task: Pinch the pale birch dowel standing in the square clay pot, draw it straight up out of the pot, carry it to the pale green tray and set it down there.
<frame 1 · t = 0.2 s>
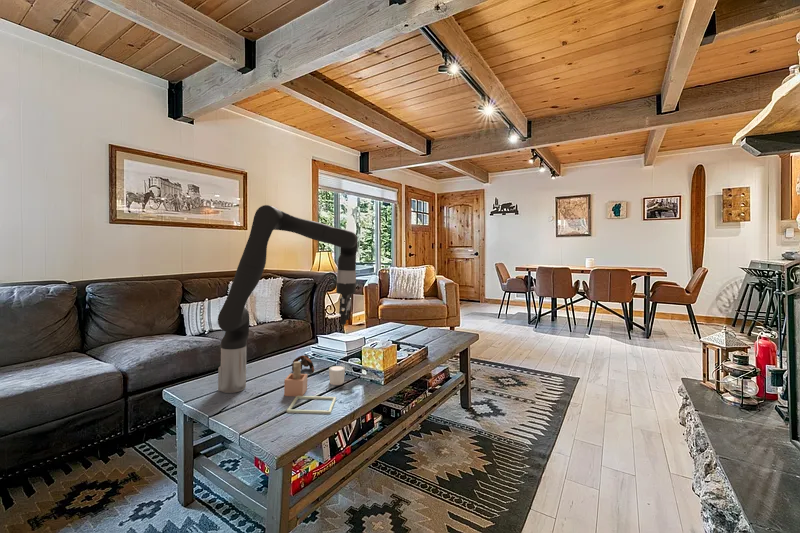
hand: (344, 322, 139), 29 cm above the table, tool pointing down, fingers open, 8 cm apart
beige cylinder: (336, 384, 148), on the table
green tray: (312, 407, 126), on the table
square clay pot: (295, 394, 137), on the table
brown curved piece: (303, 371, 163), on the table
birch pin: (296, 392, 136), point 1 cm above the table, touching square clay pot
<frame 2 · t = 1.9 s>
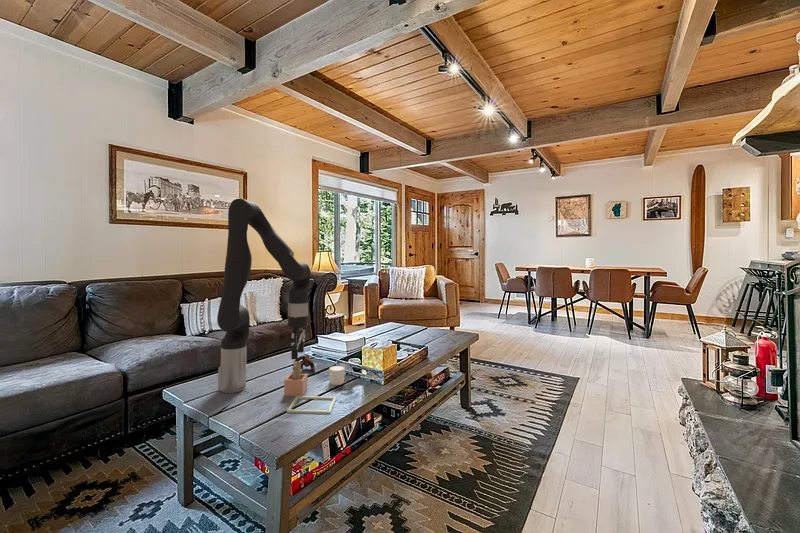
hand: (297, 355, 136), 16 cm above the table, tool pointing down, fingers open, 8 cm apart
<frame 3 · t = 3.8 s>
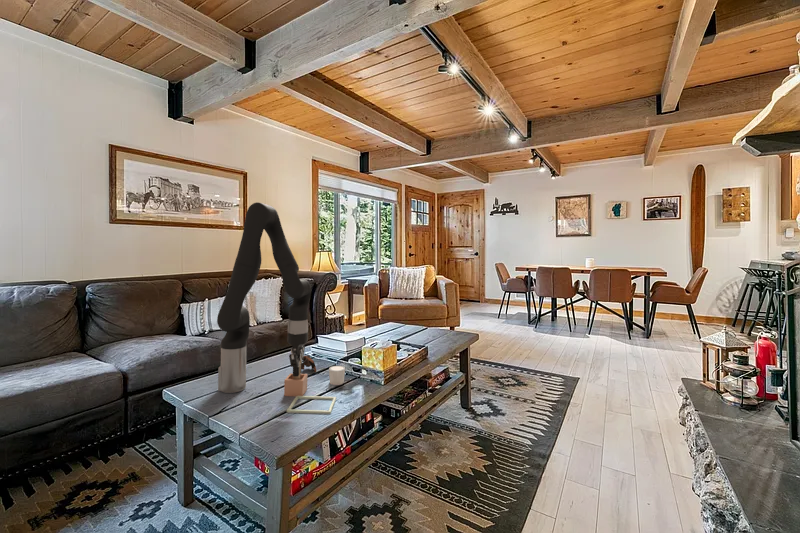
hand: (296, 374, 136), 8 cm above the table, tool pointing down, fingers closed on birch pin, 2 cm apart
birch pin: (296, 388, 136), point 2 cm above the table, touching gripper
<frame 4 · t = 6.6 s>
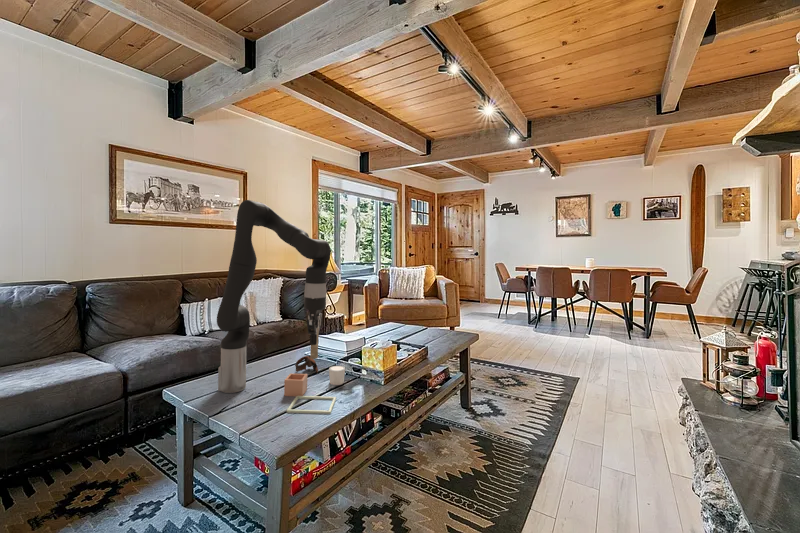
hand: (314, 343, 125), 23 cm above the table, tool pointing down, fingers closed on birch pin, 2 cm apart
birch pin: (314, 357, 125), point 18 cm above the table, touching gripper
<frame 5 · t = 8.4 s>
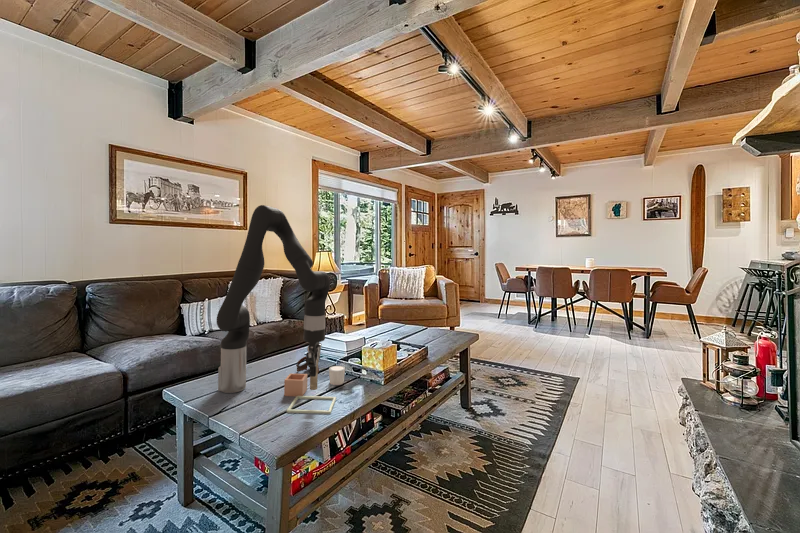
hand: (313, 374, 126), 12 cm above the table, tool pointing down, fingers closed on birch pin, 2 cm apart
birch pin: (313, 388, 126), point 7 cm above the table, touching gripper
when the fingers open (9 cm above the table, at t = 9.8 s): birch pin drops 4 cm, resting on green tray.
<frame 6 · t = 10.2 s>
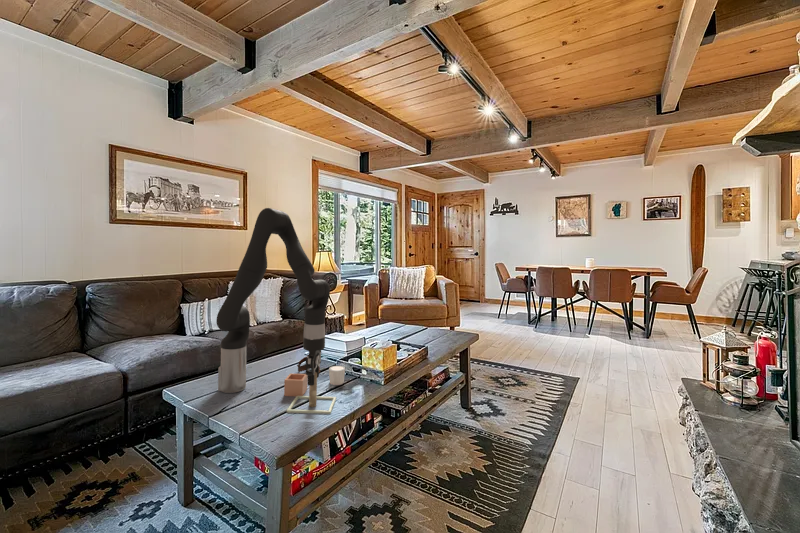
hand: (313, 380, 126), 10 cm above the table, tool pointing down, fingers open, 6 cm apart
birch pin: (312, 405, 126), point 1 cm above the table, touching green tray
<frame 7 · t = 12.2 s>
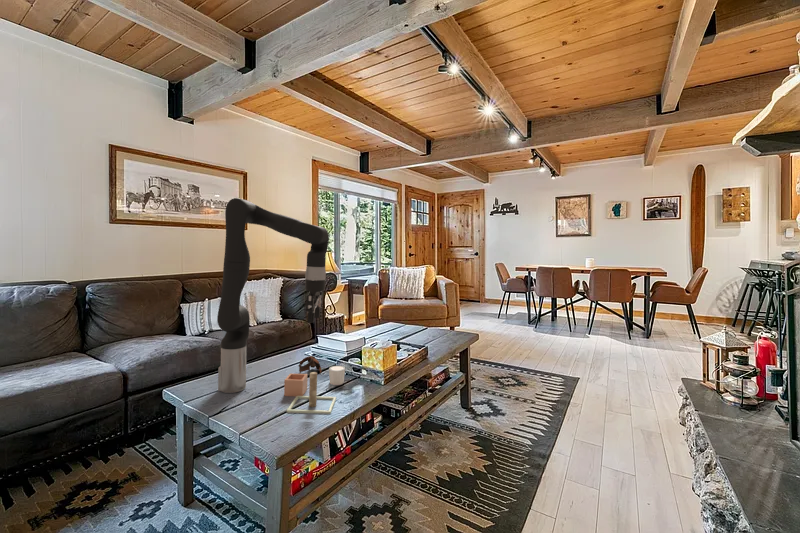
hand: (313, 320, 135), 30 cm above the table, tool pointing down, fingers open, 8 cm apart
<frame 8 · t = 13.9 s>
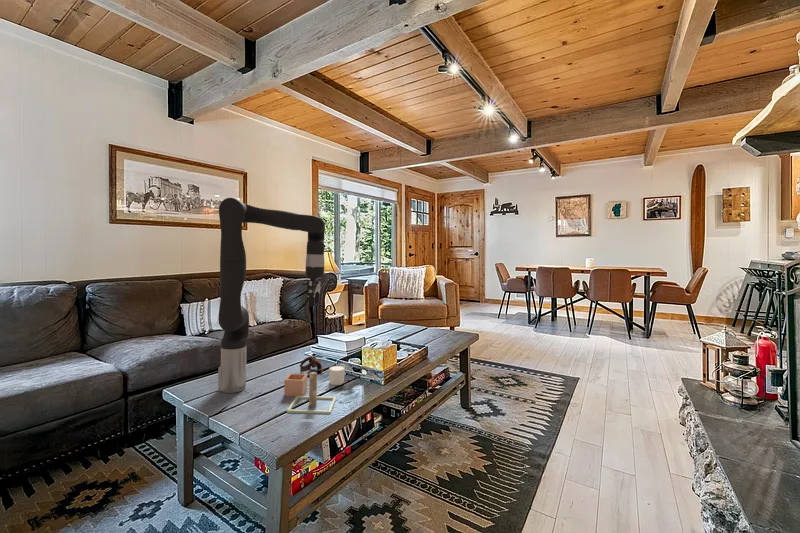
hand: (314, 304, 145), 34 cm above the table, tool pointing down, fingers open, 8 cm apart
at the end: birch pin inside the target area on the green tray (0.2 cm from its centre), point 0.6 cm above the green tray's base; the gripper is holding nothing; birch pin touching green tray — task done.
